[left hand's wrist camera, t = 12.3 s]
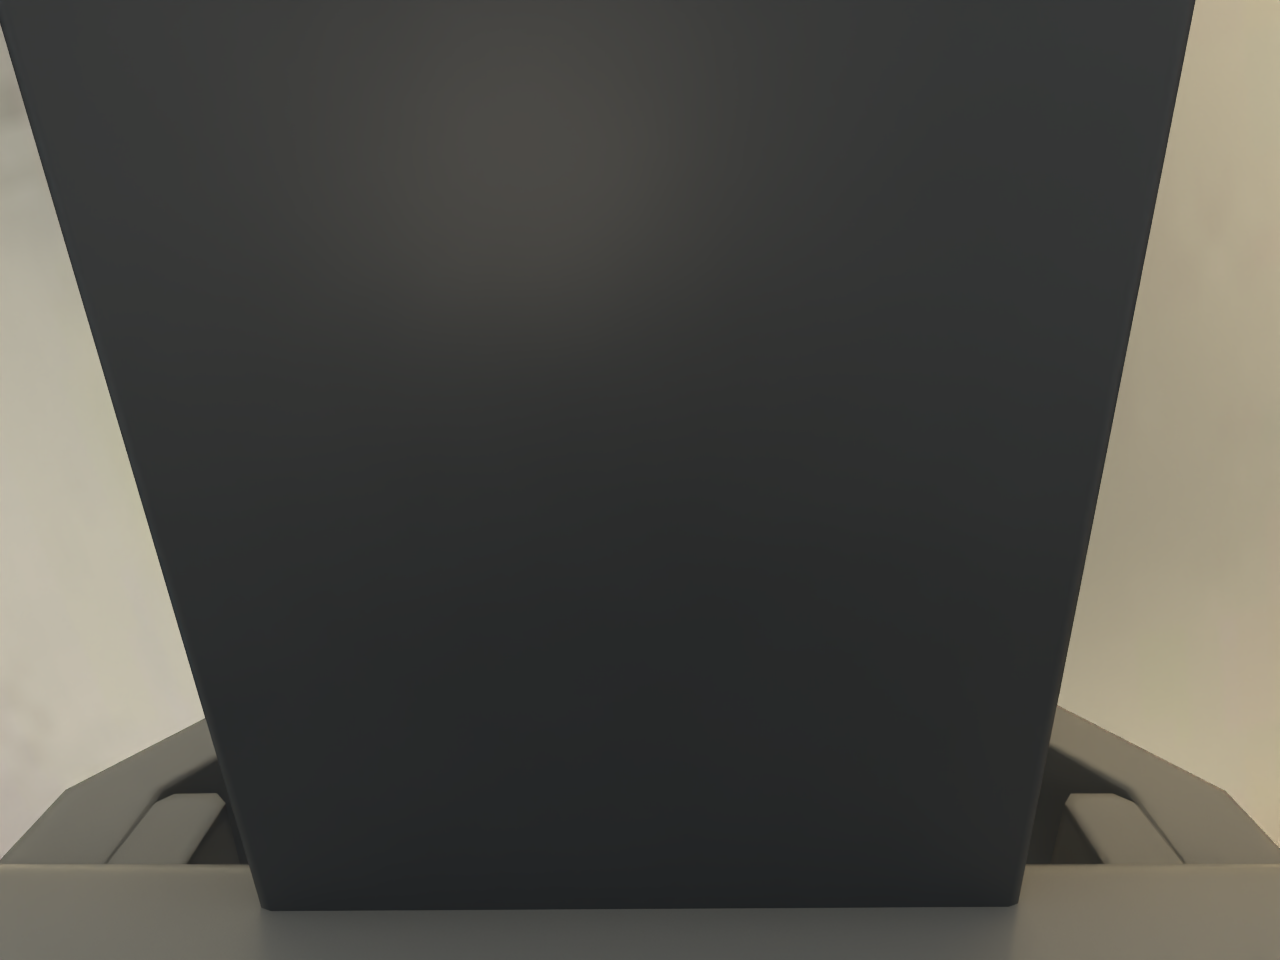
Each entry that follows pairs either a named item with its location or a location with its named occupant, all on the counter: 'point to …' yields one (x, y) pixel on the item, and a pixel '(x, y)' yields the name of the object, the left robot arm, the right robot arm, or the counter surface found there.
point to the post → (614, 419)
